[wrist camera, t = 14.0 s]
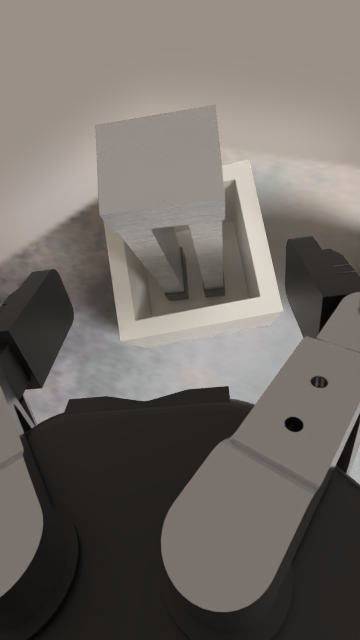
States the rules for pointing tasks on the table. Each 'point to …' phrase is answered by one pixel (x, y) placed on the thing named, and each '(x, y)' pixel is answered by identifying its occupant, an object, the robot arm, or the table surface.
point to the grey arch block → (165, 193)
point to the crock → (199, 311)
